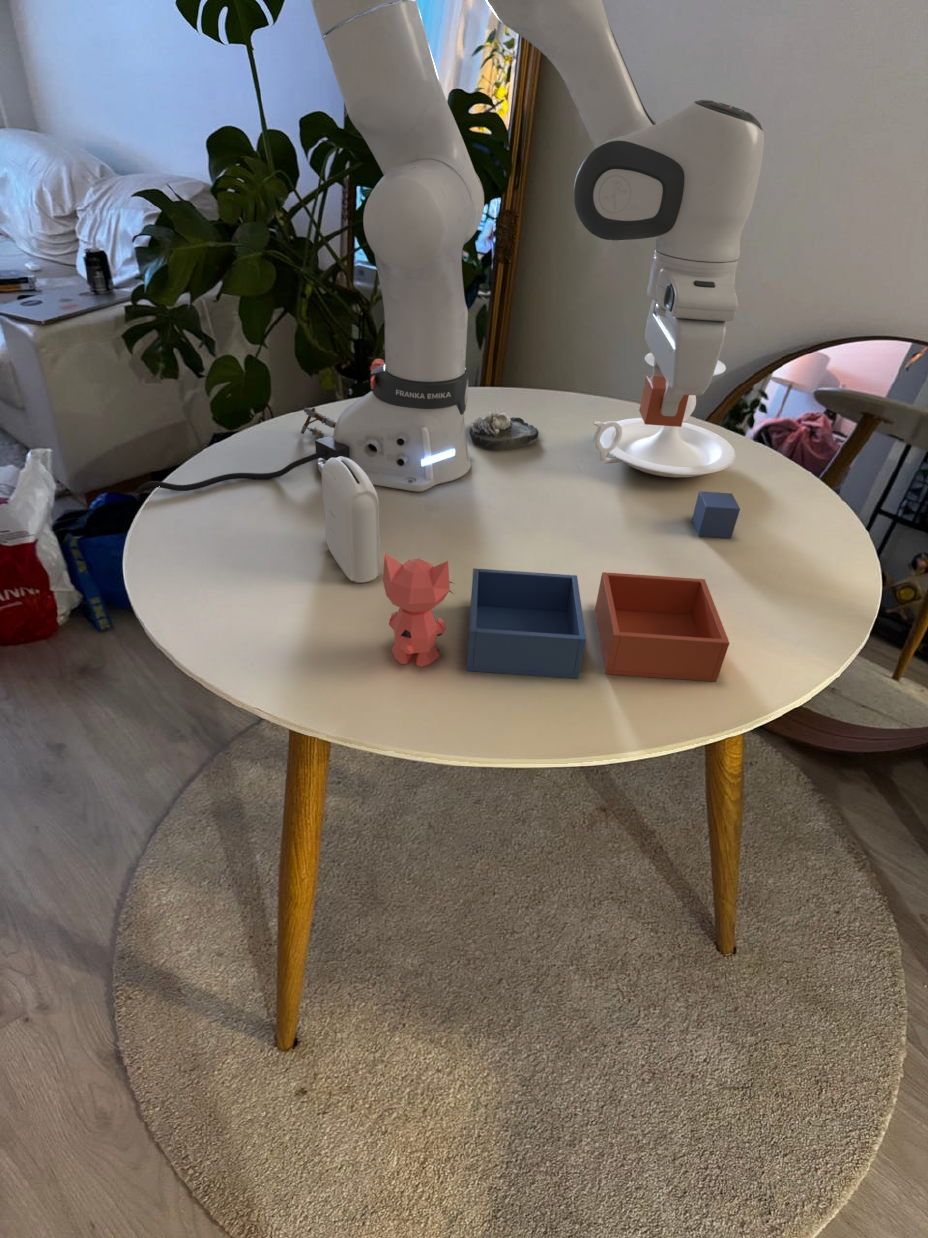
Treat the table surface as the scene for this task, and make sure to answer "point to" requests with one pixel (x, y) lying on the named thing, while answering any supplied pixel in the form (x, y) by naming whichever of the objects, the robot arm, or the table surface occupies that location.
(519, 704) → the table surface
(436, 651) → the cat figurine
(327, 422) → the wooden post with brackets
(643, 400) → the terracotta block
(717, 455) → the candlestick
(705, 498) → the slate block
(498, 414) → the shell on grey dish
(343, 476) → the photo printer
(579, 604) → the slate bin
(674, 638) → the terracotta bin
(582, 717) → the table surface
